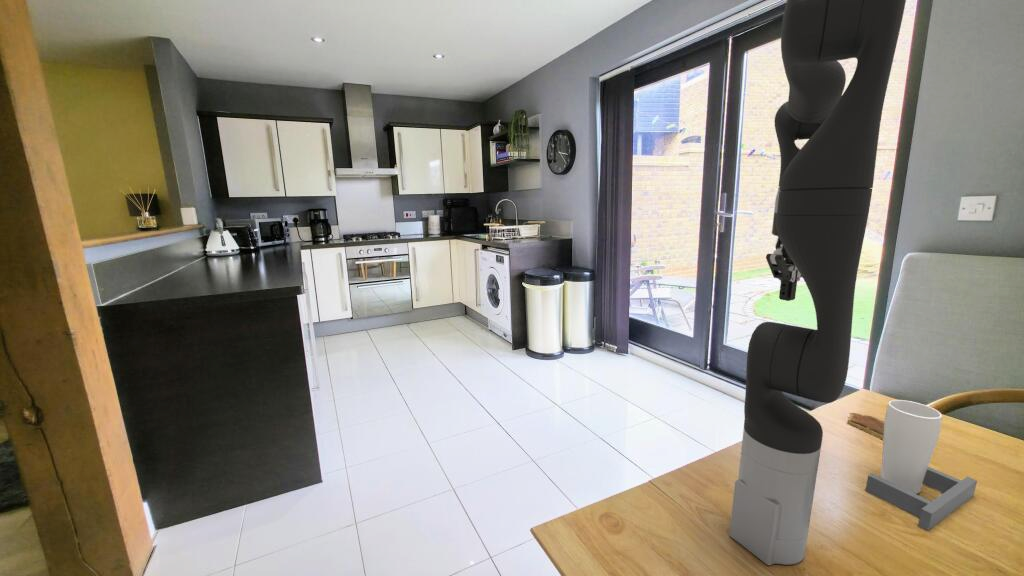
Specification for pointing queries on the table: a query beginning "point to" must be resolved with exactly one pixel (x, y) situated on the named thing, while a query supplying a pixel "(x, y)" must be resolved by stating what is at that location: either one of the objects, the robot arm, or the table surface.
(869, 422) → the shard
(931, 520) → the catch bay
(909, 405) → the white cup
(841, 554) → the table surface
